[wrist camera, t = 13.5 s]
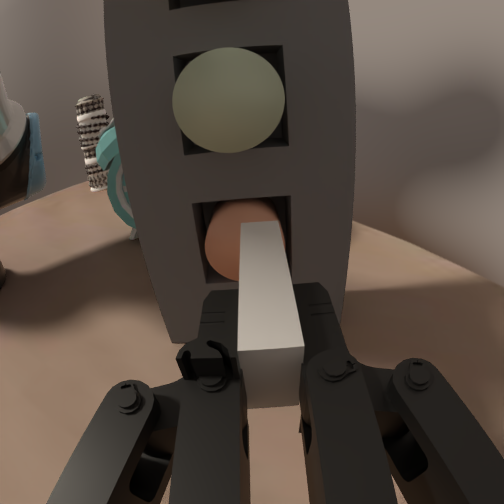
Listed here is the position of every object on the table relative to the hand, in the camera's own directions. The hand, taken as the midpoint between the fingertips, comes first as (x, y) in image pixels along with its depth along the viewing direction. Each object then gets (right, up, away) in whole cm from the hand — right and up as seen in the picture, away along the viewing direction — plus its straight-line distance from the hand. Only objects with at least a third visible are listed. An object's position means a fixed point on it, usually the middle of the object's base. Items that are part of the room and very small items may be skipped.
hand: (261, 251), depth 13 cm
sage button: (-1, +5, +2) cm, 6 cm away
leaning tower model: (-40, +18, +60) cm, 74 cm away
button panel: (0, -5, +14) cm, 15 cm away
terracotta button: (-1, -1, +9) cm, 9 cm away
